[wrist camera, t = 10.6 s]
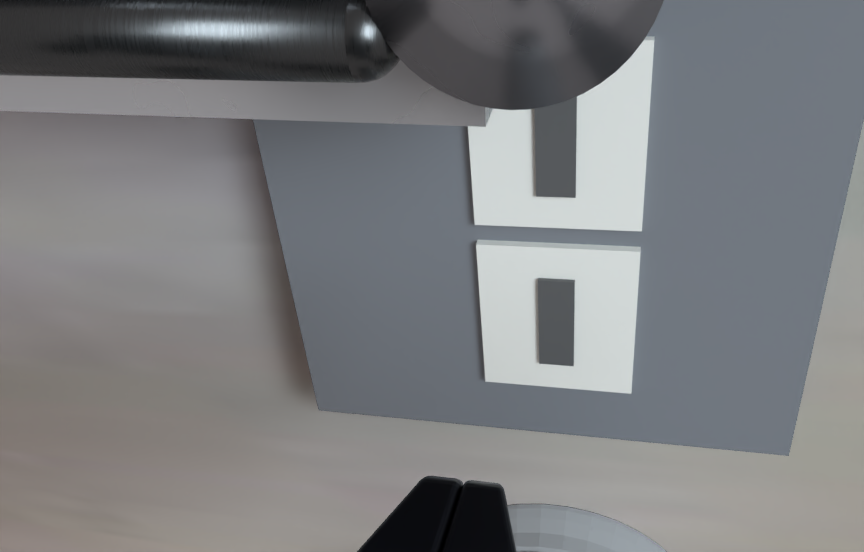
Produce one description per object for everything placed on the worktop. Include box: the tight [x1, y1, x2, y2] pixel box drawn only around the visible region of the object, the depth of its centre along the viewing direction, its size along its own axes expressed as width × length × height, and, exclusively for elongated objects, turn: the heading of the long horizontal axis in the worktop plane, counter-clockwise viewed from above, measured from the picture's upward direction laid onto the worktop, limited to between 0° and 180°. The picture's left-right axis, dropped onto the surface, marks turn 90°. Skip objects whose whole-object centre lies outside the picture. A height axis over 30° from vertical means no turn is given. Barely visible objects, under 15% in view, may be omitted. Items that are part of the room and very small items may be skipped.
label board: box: [253, 0, 864, 456], centre depth 17 cm, size 16×12×2 cm
